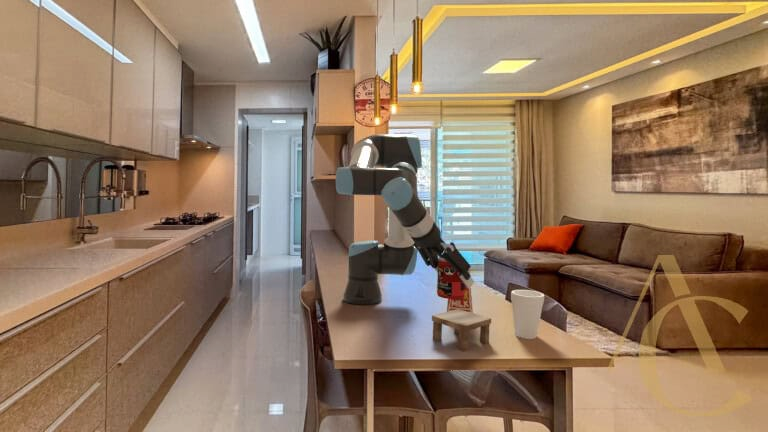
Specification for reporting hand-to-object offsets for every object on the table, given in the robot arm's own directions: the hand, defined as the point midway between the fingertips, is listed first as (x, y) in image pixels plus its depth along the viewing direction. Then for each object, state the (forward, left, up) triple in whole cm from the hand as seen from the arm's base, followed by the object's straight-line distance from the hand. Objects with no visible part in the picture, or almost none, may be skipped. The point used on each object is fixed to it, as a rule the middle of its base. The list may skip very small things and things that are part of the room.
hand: (459, 282), depth 121 cm
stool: (+2, -1, -17) cm, 17 cm away
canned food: (0, -3, -4) cm, 5 cm away
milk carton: (-13, +17, -17) cm, 28 cm away
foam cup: (+11, +19, -17) cm, 28 cm away
